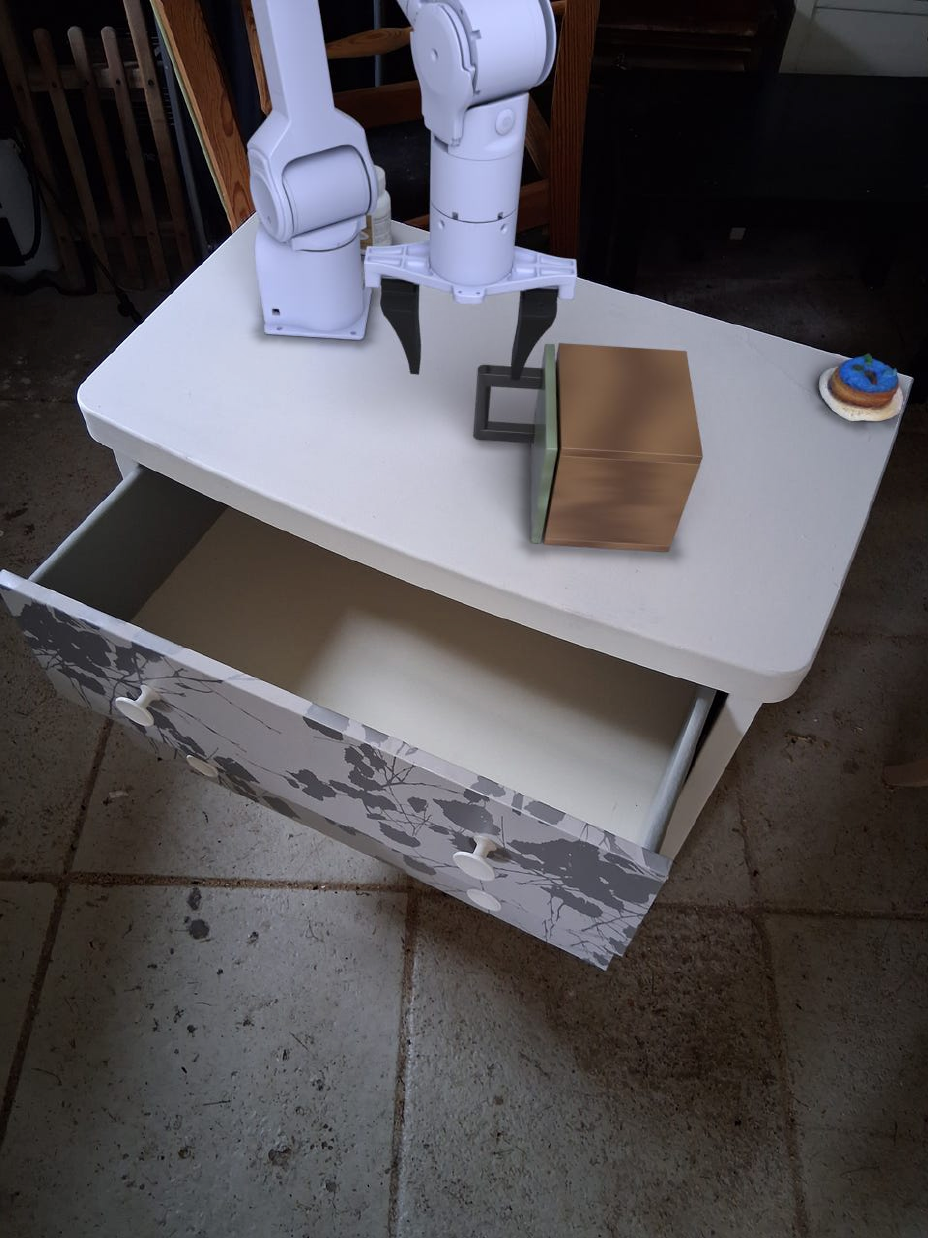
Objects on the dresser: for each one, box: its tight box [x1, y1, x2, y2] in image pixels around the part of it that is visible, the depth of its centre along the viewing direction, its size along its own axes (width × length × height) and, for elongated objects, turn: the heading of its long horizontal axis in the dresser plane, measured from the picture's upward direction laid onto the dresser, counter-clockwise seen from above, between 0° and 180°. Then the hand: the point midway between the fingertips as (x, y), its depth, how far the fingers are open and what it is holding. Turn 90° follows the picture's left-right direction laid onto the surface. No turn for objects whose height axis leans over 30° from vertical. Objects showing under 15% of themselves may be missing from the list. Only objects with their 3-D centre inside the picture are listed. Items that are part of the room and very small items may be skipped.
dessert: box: [818, 353, 904, 422], centre depth 82 cm, size 8×7×6 cm
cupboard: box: [543, 342, 704, 553], centre depth 70 cm, size 10×12×11 cm
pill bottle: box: [359, 164, 392, 256], centre depth 91 cm, size 4×4×8 cm
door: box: [472, 343, 557, 544], centre depth 70 cm, size 6×12×10 cm, turn 178°
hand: (465, 368), depth 68 cm, fingers open, 7 cm apart
